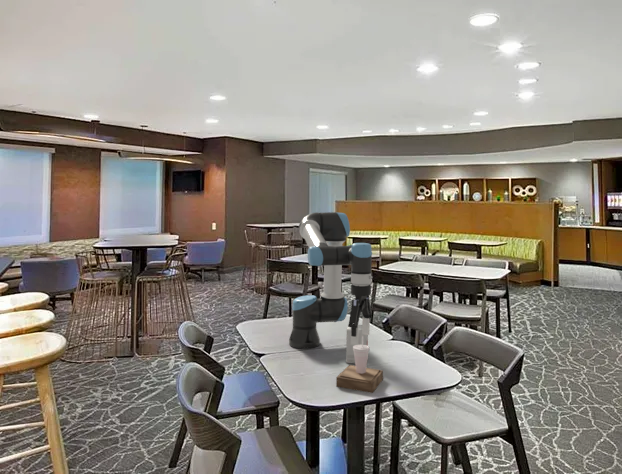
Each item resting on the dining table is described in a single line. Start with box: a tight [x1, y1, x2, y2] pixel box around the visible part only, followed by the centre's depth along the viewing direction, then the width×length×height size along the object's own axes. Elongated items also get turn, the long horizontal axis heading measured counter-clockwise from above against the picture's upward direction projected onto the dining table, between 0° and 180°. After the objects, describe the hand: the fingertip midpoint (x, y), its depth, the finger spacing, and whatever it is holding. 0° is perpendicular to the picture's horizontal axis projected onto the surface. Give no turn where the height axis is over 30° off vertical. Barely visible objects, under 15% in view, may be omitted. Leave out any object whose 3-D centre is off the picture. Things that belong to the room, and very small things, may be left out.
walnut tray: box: [335, 364, 384, 394], centre depth 167 cm, size 14×14×4 cm
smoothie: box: [353, 336, 370, 374], centre depth 167 cm, size 6×6×14 cm
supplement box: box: [345, 324, 369, 364], centre depth 191 cm, size 9×9×15 cm
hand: (360, 339), depth 166 cm, fingers open, 13 cm apart
